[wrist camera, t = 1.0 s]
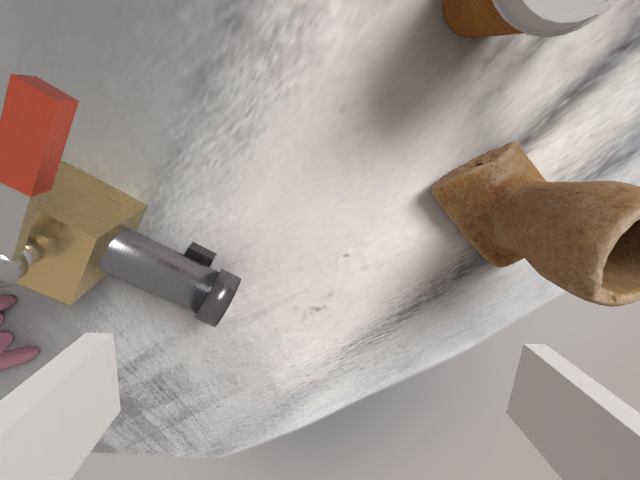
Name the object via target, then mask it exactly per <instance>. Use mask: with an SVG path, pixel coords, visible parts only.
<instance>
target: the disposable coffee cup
mask: <svg viewBox="0 0 640 480" xmlns="http://www.w3.org/2000/svg"><path fill="white" fill-rule="evenodd" d="M617 1H618V0H443V13H444V17H445V20H446V22H447V24H448V25H449V27H450V28H451V29H452V30H453V31H454V32H455V33H456V34H458V35H459V36H462V37H465V38H476V37H486V36H498V35H509V34H520V33H525V34H528V35H534V36H540V37H552V36H559V35H564V34H567V33H570V32H573V31H576V30H578V29H580V28H582V27H583V26H585V25H587V24H589V23H590V22H592V21H594V20H595V19H596V18H598V17H599V16H600V15H601V14H602V13H604V12H605V11H606V10H607V9H608V8H610V7H611V6H612V5H613V4H614V3H615V2H617Z"/></svg>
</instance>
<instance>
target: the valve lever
mask: <svg viewBox="0 0 640 480" xmlns="http://www.w3.org/2000/svg"><path fill="white" fill-rule="evenodd" d="M78 102H79V101H78V100H76V99H74V98H73V97H71V96H69V95H67V94H66V93H64V92H62V91H60V90H59V89H57V88H55V87H53V86H52V85H50V84H48V83H46V82H45V81H43V80H41V79H39V78H38V77H36V76H26V75H15V74H11V75H10V80H9V84H8V89H7V93H6V97H5V102H4V106H3V111H2V115H1V120H0V287H6V286H9V285H11V284H12V283H14V282H16V281H17V280H19V279H20V278H22V277H24V276H25V275H26V274H27V272H28V269H29V266H28V262H27V260H26V258H25V257H24V255H23V253H24V249H25V246H26V243H27V239H28V236H29V232H30V229H31V226H32V222H33V219H34V216H35V212H36V209H37V206H38V202H39V199H40V196H41V193H44V192H47V191H50V190H51V189H52V186H53V182H54V179H55V176H56V173H57V170H58V166H59V163H60V160H61V157H62V153H63V150H64V147H65V144H66V141H67V137H68V134H69V131H70V128H71V124H72V121H73V118H74V115H75V112H76V108H77V105H78Z"/></svg>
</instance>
